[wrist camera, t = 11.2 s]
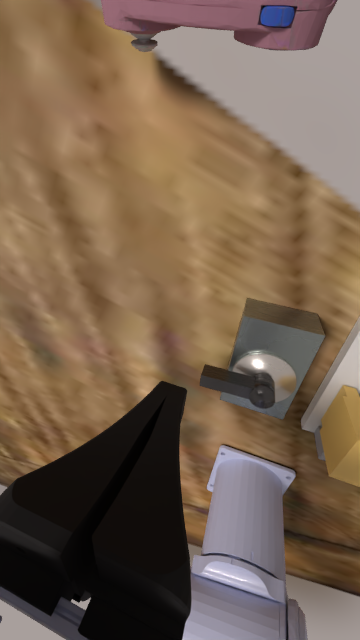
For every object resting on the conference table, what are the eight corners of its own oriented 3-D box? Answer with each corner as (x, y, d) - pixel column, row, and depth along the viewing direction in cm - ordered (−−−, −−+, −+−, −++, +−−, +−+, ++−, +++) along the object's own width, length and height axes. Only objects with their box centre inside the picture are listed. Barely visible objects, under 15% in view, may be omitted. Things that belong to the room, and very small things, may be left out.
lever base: (281, 392, 22) (282, 422, 19) (225, 375, 23) (219, 402, 20) (317, 313, 17) (326, 338, 15) (246, 297, 18) (242, 317, 16)
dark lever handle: (277, 377, 17) (278, 394, 15) (271, 394, 18) (271, 411, 16) (206, 359, 18) (201, 373, 17) (203, 375, 19) (198, 390, 17)
